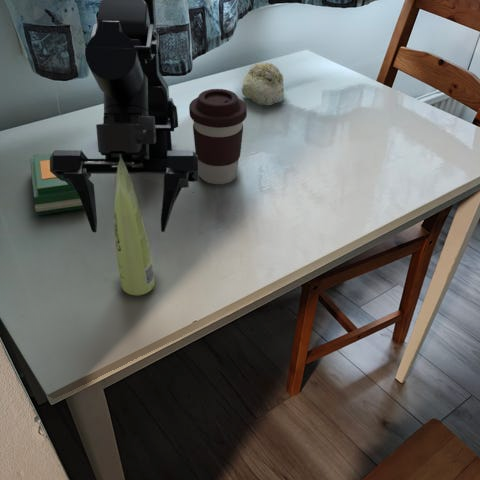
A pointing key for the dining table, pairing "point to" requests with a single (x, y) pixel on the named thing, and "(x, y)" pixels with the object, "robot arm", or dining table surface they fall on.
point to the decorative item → (264, 84)
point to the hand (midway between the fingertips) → (128, 231)
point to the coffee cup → (218, 134)
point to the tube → (131, 237)
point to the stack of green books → (51, 188)
